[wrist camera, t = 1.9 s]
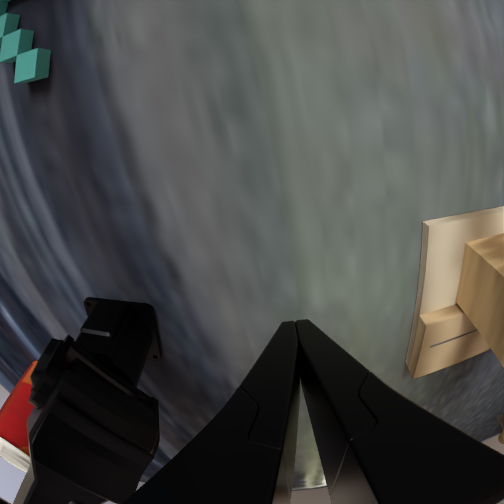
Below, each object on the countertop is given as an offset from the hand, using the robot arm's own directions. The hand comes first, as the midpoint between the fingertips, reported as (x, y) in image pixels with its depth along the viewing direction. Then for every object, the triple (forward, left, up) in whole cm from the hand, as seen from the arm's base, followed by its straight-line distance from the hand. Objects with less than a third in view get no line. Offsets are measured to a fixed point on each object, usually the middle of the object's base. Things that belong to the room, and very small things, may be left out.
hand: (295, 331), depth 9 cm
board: (-5, -25, -12) cm, 28 cm away
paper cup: (-23, +26, -12) cm, 37 cm away
